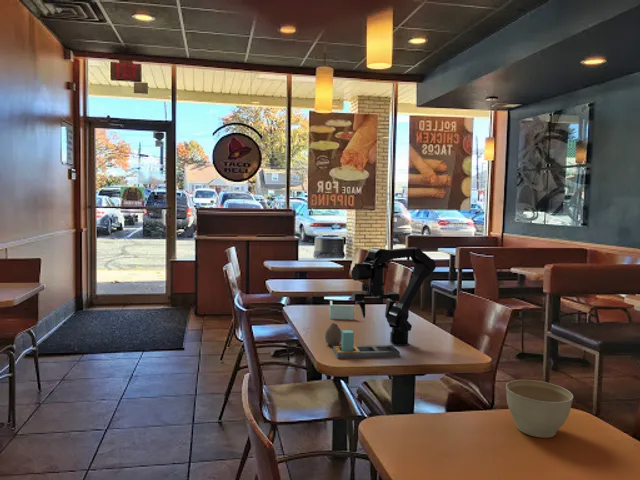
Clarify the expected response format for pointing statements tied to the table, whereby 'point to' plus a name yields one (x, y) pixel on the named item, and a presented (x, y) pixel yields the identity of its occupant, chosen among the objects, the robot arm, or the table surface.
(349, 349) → the peg
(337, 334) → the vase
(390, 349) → the grey slotted tray
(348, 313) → the l-shaped corner panel
